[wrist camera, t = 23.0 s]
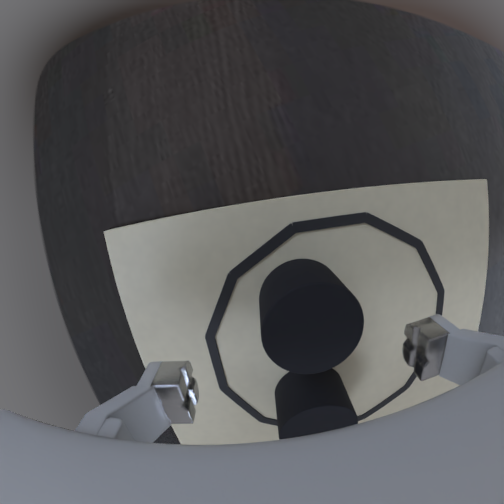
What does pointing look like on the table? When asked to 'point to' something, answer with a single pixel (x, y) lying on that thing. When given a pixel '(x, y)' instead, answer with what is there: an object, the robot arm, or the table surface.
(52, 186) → the table surface
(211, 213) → the sheet
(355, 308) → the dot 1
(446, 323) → the robot arm
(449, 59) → the table surface
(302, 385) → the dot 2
